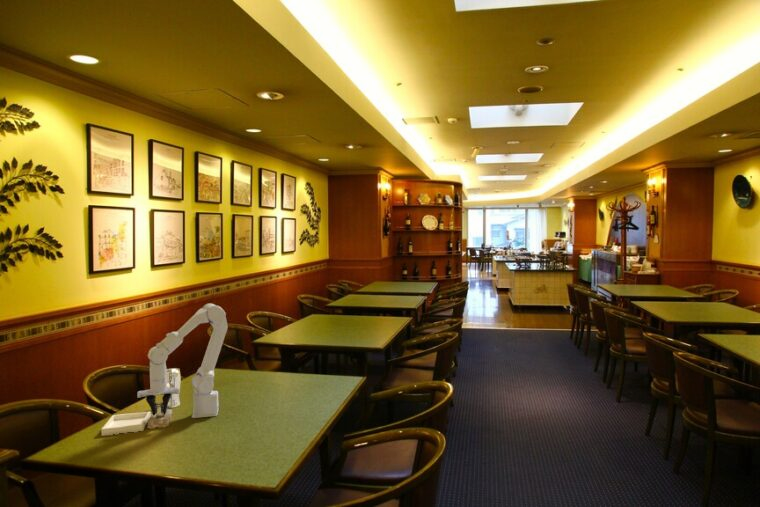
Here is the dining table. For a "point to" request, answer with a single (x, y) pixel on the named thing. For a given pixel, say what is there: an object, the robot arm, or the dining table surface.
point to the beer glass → (173, 386)
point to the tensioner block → (160, 420)
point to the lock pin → (159, 409)
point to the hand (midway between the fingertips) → (159, 413)
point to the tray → (126, 423)
